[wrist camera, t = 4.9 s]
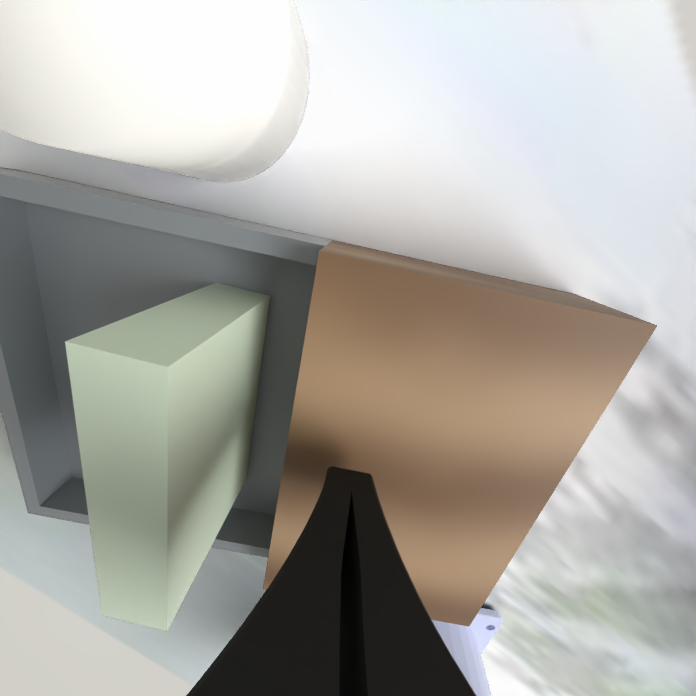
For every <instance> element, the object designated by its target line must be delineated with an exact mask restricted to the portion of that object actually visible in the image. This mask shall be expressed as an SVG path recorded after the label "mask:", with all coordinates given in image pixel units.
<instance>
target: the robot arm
mask: <svg viewBox="0 0 696 696" xmlns="http://www.w3.org/2000/svg"><path fill="white" fill-rule="evenodd" d="M501 624H502V619H501V616H500V613H499V612H497V611H495V610H489V609H484V608H481V609H480V610H479V612H478V613H477V615H476V617H475V618H474V620H473V621H472V623H471V625H470V626H469V627H468V626H463V625H458V624H452V623H447V622H441V621H436V620H431V618H430V616H429V614H428V612H427V610H426V608H425V606H424V605H423V603H422V601H421V599H420V597H419V595H418V593H417V591H416V589H415V586H414V584H413V582H412V580H411V578H410V576H409V574H408V572H407V569H406V567H405V565H404V563H403V561H402V558H401V556H400V554H399V551H398V549H397V546H396V544H395V541H394V539H393V536H392V534H391V531H390V529H389V526H388V524H387V521H386V518H385V515H384V513H383V510H382V507H381V504H380V501H379V498H378V494H377V491H376V488H375V484H374V480H373V477H372V476H371V474H369V473H364V472H359V471H354V470H349V469H344V468H339V467H334V466H331V467H329V468H328V469H327V473H326V477H325V481H324V485H323V488H322V491H321V493H320V496H319V498H318V501H317V503H316V505H315V507H314V509H313V511H312V513H311V516H310V518H309V520H308V522H307V524H306V526H305V528H304V529H303V531H302V533H301V535H300V536H299V538H298V540H297V542H296V544H295V545H294V547H293V549H292V551H291V552H290V554H289V556H288V557H287V559H286V561H285V562H284V564H283V566H282V567H281V569H280V570H279V572H278V573H277V575H276V576H275V578H274V580H273V581H272V583H271V584H270V586H269V587H268V589H267V590H266V592H265V593H264V595H263V596H262V597H261V599H260V600H259V602H258V603H257V604H256V606H255V607H254V609H253V610H252V612H251V613H250V614H249V616H248V617H247V619H246V620H245V621H244V623H243V624H242V626H241V627H240V628H239V630H238V631H237V632H236V634H235V635H234V636H233V638H232V639H231V640H230V641H229V643H228V644H227V645H226V647H225V648H224V649H223V650H222V652H221V653H220V654H219V656H218V657H217V658H216V659H215V661H214V662H213V663H212V664H211V666H210V667H209V668H208V670H207V671H206V672H205V673H204V675H203V676H202V677H201V679H200V680H199V681H198V682H197V683H196V685H195V686H194V687H193V688H192V690H191V691H190V692H189V694H187V696H492V695H491V692H490V688H489V684H488V680H487V676H486V673H485V669H484V665H483V661H482V657H481V653H482V652H483V650H484V649H485V647H486V646H487V644H488V643H489V641H490V640H491V638H492V637H493V636H494V634H495V633H496V631H497V630H498V628H499V627H500V625H501Z"/></svg>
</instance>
